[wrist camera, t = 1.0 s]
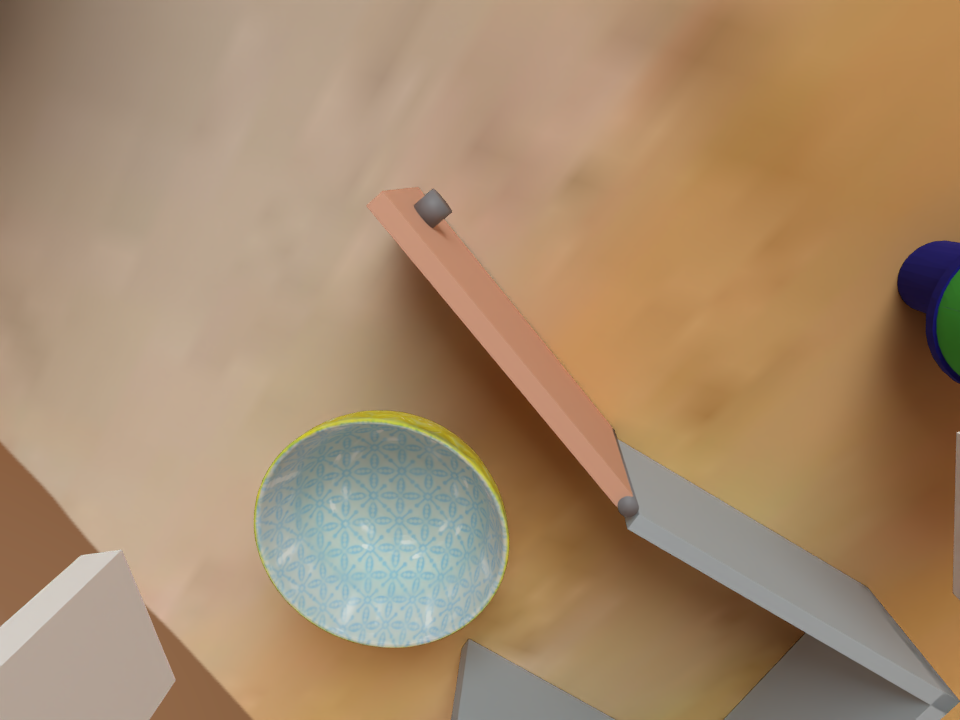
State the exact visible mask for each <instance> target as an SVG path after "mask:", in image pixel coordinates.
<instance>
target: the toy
mask: <svg viewBox="0 0 960 720" xmlns="http://www.w3.org/2000/svg"><path fill="white" fill-rule="evenodd" d="M898 291H899V293H900V295H901V298H902V299H903V300H904V302H905V303H906V304H907V305H909V306H910V307H911V308H913V309H916V310H918V311H921V312H923V313H926V337H927V342H928V346H929V349H930V351H931V354H932V356H933V358H934V360H935V361H936V363H937V364H938V365H939V367H940V368H941V369H942V371H943V372H945V373H946V374H947V375H948V376H949V377H950V378H951V379H952V380H954V381H955V382H957V383H959V384H960V243H957V242H951V241H935V242H931V243H928V244H926V245H924V246H921V247H919V248H918V249H917V250H915V251H914V252H913V253H912V254H910V255H909V257H908V258H907V259H906V260H905V262H904V263H903V265H902V267H901V269H900V272H899V275H898Z"/></svg>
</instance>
